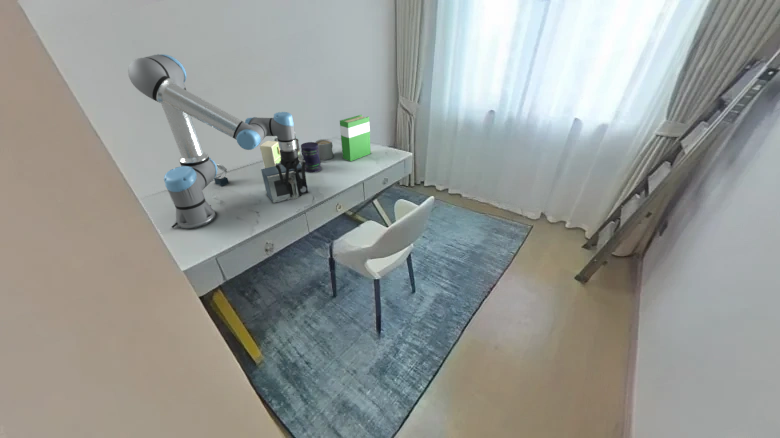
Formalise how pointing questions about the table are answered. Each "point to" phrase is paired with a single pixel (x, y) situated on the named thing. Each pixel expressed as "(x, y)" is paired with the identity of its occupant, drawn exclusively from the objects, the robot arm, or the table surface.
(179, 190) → the robot arm
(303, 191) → the microwave
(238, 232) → the table surface
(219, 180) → the watch
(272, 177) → the microwave door
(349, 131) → the hardback book
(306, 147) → the storage jar
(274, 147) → the toy refrigerator
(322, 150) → the coffee mug
